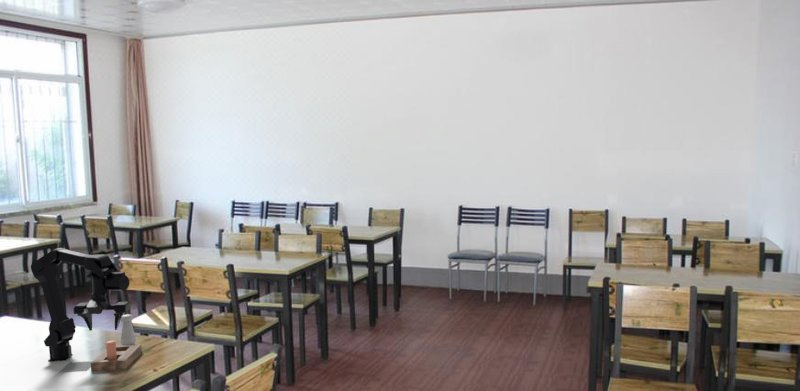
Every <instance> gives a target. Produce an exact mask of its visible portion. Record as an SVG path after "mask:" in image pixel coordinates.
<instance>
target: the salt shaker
mask: <svg viewBox="0 0 800 391" xmlns="http://www.w3.org/2000/svg"><path fill="white" fill-rule="evenodd" d="M132 321H133V315H132V314H129V313H127V314H123V315H122V318H121V320H120V322H122V327H121V333H120V341H119V342H120V345H136V342H137V338H136V335H135V330H134V327H133V323H132Z"/></svg>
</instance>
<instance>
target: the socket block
mask: <svg viewBox="0 0 800 391" xmlns="http://www.w3.org/2000/svg"><path fill="white" fill-rule="evenodd" d="M142 350H143V349H142V343H140V344H139V343H138V344H136V343H135V345H122V344H120V345H116V352H117V359H113V360H107V349H105V350H103V351H102V352H101V353H100V354H98V355H97V356H96V357H95V358H94V359H93V360H91V361H92V362H91V367H90V372H104V371H105V372H106V371H120V370H123V371H124V370H127V369H128V368H129V366H131V365H132V363H134V361H135V360H136V359H137V358H139V357H140V355H141V354H142V353H143V351H142Z"/></svg>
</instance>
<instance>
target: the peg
mask: <svg viewBox="0 0 800 391" xmlns="http://www.w3.org/2000/svg"><path fill="white" fill-rule="evenodd" d="M116 342H117V341H116V340H109V341H106V342H105V347H106V349H107V360H113V359H117V352H116V346H117V343H116ZM106 349H105V350H106Z"/></svg>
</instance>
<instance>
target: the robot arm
mask: <svg viewBox="0 0 800 391" xmlns="http://www.w3.org/2000/svg"><path fill="white" fill-rule="evenodd" d="M62 262H65V263H69V264H72V265H78V266H81V267H83V268H84V269H85V270H86V271H88V272H89V273H88V274H87V275H86V278H88V279H89V278H90V279H91V284H92V293H91V296H90V297H91V298H90V300H89V301H88V302H79V303H78V304H76V305H75V306H74V307H73V314H74V315H77V316H78V317H81V318H82V319H83V320H84V322H85V324H86V326H87V328H88V330H89V331H93V314H94V315H101V314H102V312H103V311H112V310H113V311H114V313H113V316H114V330H115V331H117V330H118V328H119V326H120V322H121V318H122V316H123V315H125V313H127V312H128V311H129V310H131V303H130V302H129V301H119V302H117V303H116V304H113V301H112V300H111V293H112V291H116V292H117V291H120V292H126V291H127V290H128V289H129V287H130V279H129V277H128V276H127V275H126V272H124V271H122V272H121V271H119V270H118V269H117V267H116V266H115V263H113V261H112V259H111V257H110V256H109V255H107V254H87V253H82V252H78V251H75V250H71V249H67V248H64V247H58V248H54V249H51V250H50V251H49V252H48V253H47V254H45V255H43V256H41V257H40V258H38V259H35V260H33V262H32V263H31V265H30V271H31V272H32V275H33V277H34V278H35V279H36V280H37V281H38V282H39V283H40V285H41V288H42V292H43V295H44V298H45V299H44V300H45V302H46V305H47V309H48V313H49V316H50V322H49V326H48V332H49V334H48V336H47V337H46V338H45V339H44V340H43V343H44V345H45V347H48V350H49V359H48V361H47V362H48V363H49V362H63V361H67V360H68V359H69V358H71V357H72V356H73V353H72V345H71V344H70V341H72V340H73V339H74V335H75V333H76V328H77V326H76V325H75V321H74V320H75V319H74V318H73V317H71V318H70V317H68V315H67V314H66V311H65V308H64V306H63V302H62V297H61V295H60V291H59V287H58V283H57V281H56V278H57V276H58V275H57V274H58V265H60V264H61V263H62Z"/></svg>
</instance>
